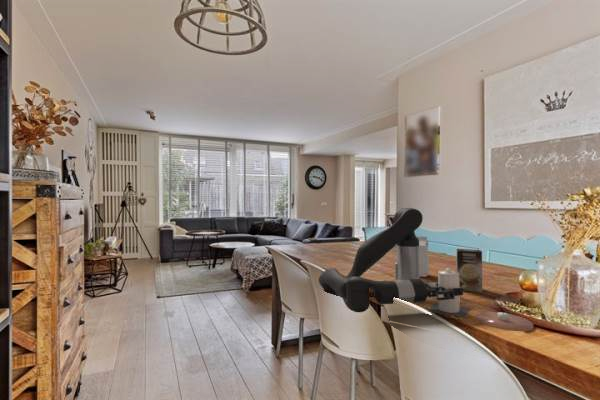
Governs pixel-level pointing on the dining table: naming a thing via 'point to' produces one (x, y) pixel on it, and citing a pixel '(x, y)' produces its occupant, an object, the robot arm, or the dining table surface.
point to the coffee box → (469, 269)
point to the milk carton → (423, 256)
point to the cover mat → (461, 313)
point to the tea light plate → (505, 321)
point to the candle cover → (449, 281)
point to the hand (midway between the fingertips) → (455, 288)
